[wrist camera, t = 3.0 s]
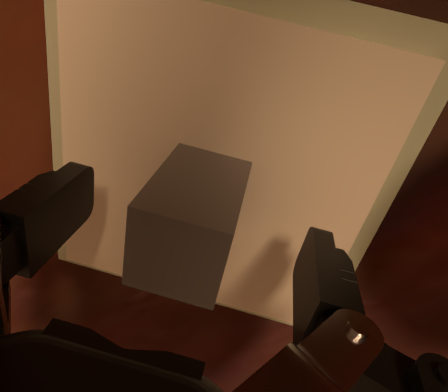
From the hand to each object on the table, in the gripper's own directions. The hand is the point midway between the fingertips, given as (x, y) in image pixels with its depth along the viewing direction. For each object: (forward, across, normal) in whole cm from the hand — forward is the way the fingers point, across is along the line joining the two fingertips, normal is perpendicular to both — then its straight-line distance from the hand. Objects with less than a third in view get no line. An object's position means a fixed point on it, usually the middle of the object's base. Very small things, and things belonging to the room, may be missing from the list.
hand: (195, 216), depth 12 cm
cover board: (+3, 0, 0) cm, 3 cm away
